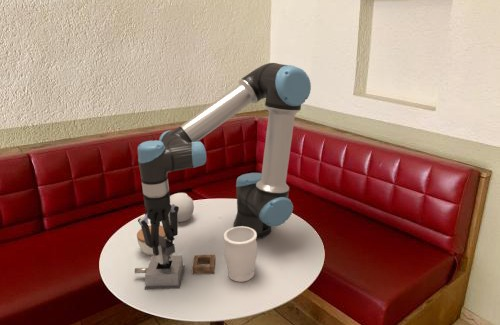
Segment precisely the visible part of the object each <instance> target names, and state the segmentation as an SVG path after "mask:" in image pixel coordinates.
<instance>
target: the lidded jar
mask: <svg viewBox="0 0 500 325" xmlns="http://www.w3.org/2000/svg"><path fill="white" fill-rule="evenodd" d="M148 226H149V229H150V233H151V225H148ZM159 235H160V236H162V237H163V238H167V237H166V236H165V232H164V229H163V225H162V224H160V226H159ZM136 239H137V242H138V243H137V244H138V246H139V248H140V250H141V251H142V252H143V253H145V254H146V255H147V256H151V257H152V256H156V255H154V254H153V248H150V247H149V246H147V245H146V243H145V240H144V236H143V232H142V228H141V229H139V230H138V231H137V233H136Z"/></svg>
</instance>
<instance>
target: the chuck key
mask: <svg viewBox="0 0 500 325" xmlns="http://www.w3.org/2000/svg"><path fill="white" fill-rule="evenodd" d="M159 245H161V249H162V256H163V264H161V269H170V263H169V255H171V254H172V255H173V254H174V253H176V246H175V245H176V244H174V242H173V243H171V242H170V241H168V240H166V239H165V238H163V237H162V236H160V235H159Z"/></svg>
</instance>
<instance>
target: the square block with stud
mask: <svg viewBox="0 0 500 325" xmlns="http://www.w3.org/2000/svg"><path fill="white" fill-rule="evenodd" d="M172 257H173V259H169V263H170V269H161V264H160V263H158V262H157V261H156V255H155V256H151V258H150V261H149V264H148V266H147V267H136V268H134V273H135V274H144V277H145V278H144V279H145V285H144V290H170V289H171V290H174V289H175V290H176V289H181V286H182V282H183V279H184V278H183V277H184V274H185V270H186V265H184V261H183V260H184V259H183V258H184V257H183V255H179V254H177V255H173V254H172Z"/></svg>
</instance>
